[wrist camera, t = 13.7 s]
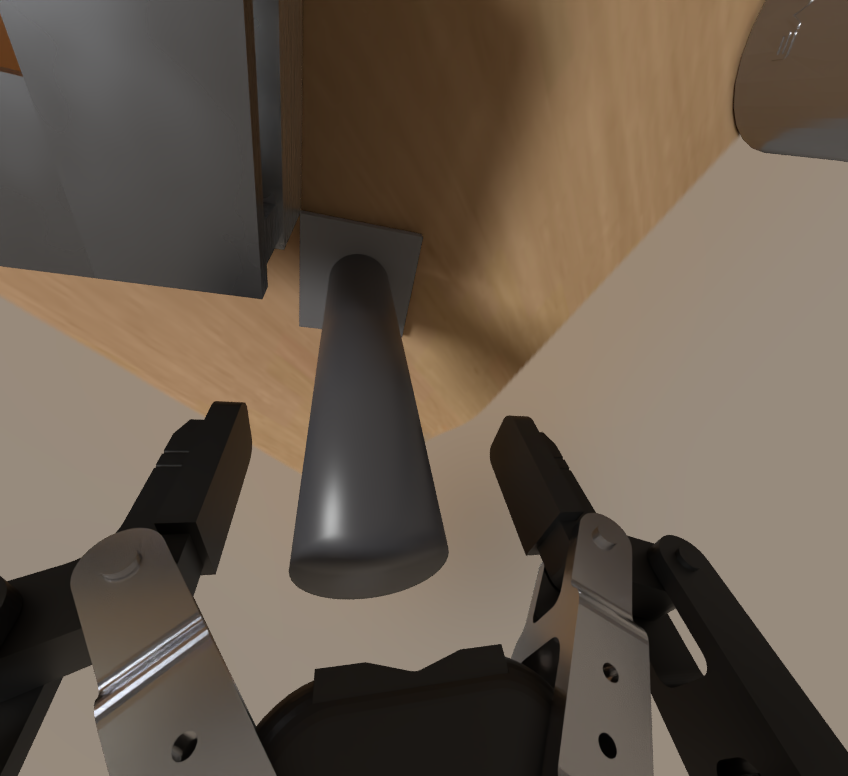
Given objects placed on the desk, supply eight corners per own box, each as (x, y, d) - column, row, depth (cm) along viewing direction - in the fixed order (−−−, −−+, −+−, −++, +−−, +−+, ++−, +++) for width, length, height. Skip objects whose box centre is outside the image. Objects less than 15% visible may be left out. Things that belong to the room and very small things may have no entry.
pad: (421, 233, 18) (423, 237, 18) (400, 332, 22) (401, 337, 21) (301, 210, 16) (299, 213, 16) (300, 321, 20) (299, 326, 19)
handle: (393, 259, 18) (468, 521, 6) (383, 314, 20) (428, 593, 8) (330, 248, 17) (288, 526, 6) (327, 307, 19) (289, 605, 7)
